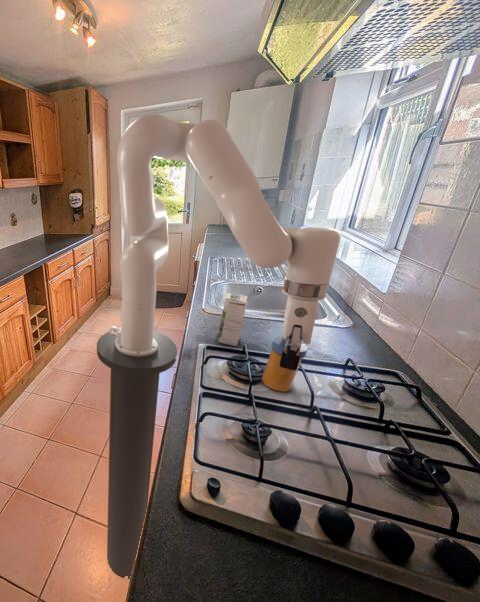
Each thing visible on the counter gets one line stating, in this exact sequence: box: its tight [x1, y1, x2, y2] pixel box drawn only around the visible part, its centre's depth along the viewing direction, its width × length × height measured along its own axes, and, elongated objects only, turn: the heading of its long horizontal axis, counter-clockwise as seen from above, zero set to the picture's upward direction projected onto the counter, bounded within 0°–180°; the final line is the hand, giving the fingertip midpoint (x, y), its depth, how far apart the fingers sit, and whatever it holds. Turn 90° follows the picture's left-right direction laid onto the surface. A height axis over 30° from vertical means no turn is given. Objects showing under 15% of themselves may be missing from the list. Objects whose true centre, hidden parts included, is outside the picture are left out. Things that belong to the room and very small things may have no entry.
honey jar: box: [261, 348, 303, 392], centre depth 71 cm, size 6×6×11 cm
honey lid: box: [270, 335, 309, 359], centre depth 69 cm, size 7×7×2 cm
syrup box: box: [216, 293, 249, 347], centre depth 90 cm, size 6×6×14 cm
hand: (288, 359), depth 70 cm, fingers open, 6 cm apart
